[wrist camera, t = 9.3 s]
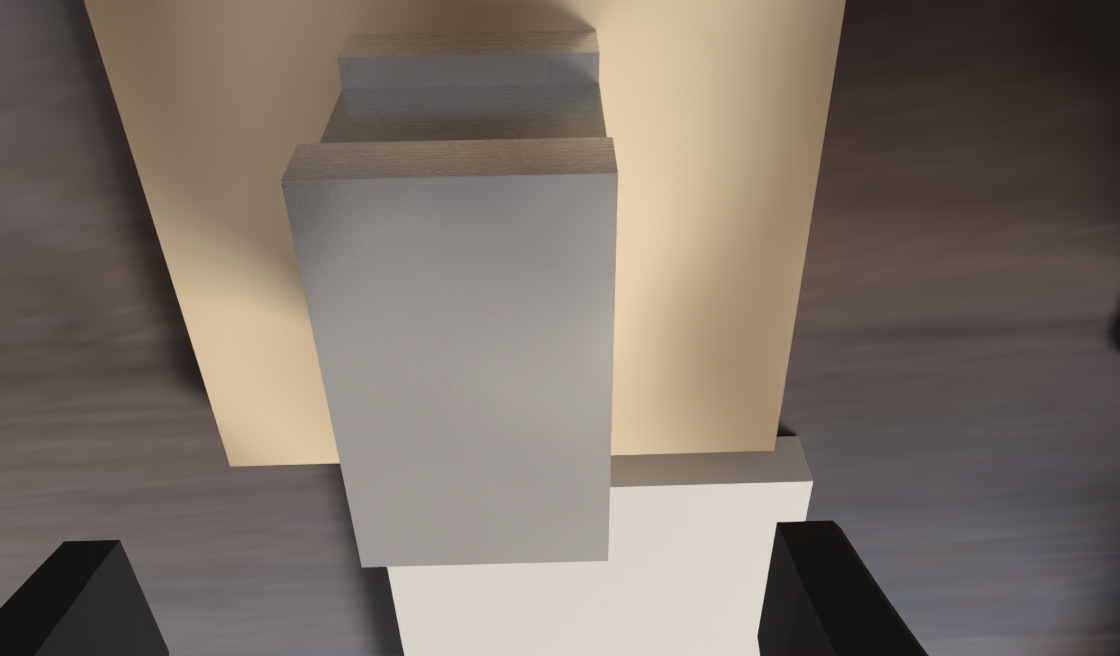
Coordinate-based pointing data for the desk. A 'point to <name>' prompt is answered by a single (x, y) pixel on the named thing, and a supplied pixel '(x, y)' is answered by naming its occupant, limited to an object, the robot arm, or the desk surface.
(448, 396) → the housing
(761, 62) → the stand
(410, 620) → the stand
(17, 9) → the desk surface
